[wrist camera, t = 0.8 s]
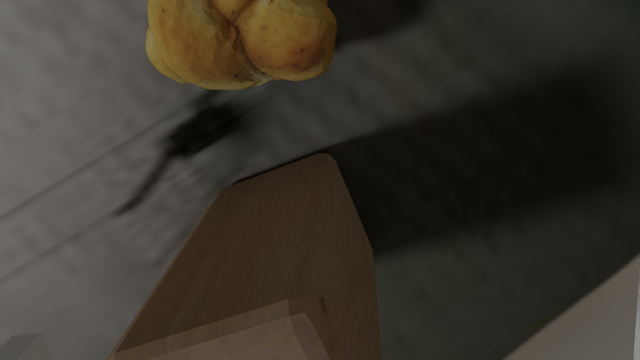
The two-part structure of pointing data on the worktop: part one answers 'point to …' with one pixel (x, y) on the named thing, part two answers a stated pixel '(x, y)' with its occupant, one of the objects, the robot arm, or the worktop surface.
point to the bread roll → (240, 41)
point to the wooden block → (267, 277)
